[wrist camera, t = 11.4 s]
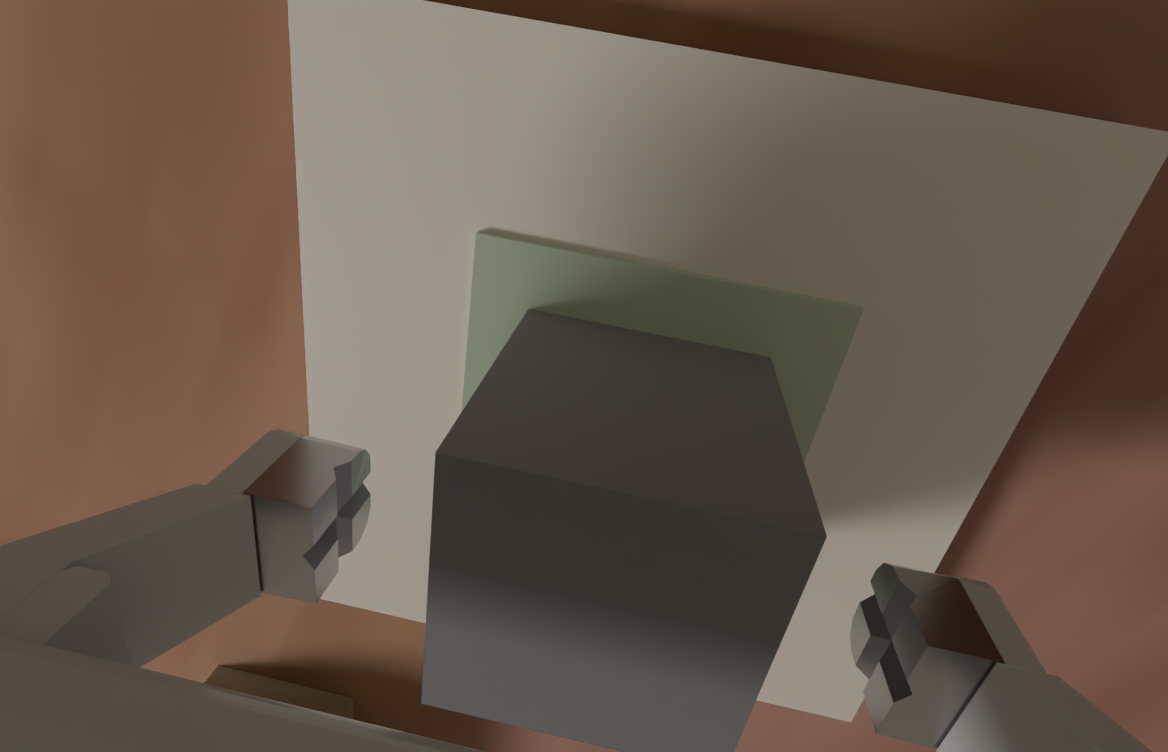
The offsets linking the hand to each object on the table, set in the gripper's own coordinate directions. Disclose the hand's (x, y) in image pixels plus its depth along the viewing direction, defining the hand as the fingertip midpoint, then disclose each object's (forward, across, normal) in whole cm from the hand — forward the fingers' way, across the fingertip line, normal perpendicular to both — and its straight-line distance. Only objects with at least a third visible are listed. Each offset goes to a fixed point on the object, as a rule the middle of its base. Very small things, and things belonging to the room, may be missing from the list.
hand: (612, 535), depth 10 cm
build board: (+4, 0, 0) cm, 4 cm away
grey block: (+3, 0, 0) cm, 3 cm away
